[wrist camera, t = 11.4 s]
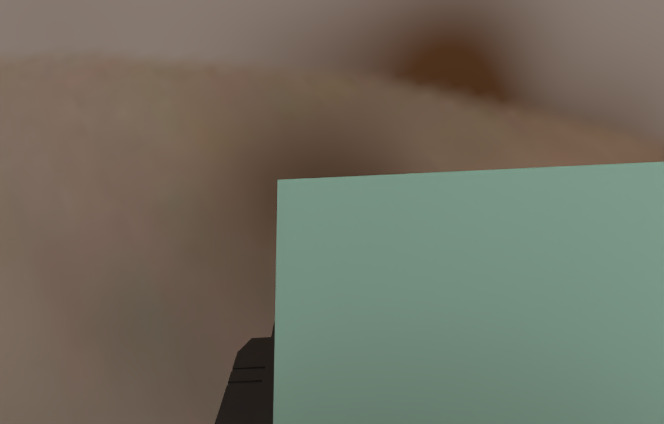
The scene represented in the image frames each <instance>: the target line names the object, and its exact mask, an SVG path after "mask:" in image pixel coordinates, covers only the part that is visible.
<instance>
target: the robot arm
mask: <svg viewBox="0 0 664 424" xmlns="http://www.w3.org/2000/svg"><path fill="white" fill-rule="evenodd" d="M274 348H275V322H274V326H273V331H272V336H271V337H267V338H252V339H251V340H250V341H249V342H248V343H247V344H246V345H245V346H244V347H242V348H241V349H240V350H239V351H238V353H237V356H236V359H235V362H234V365H233V371H232V372H231V375H230V378H229V381H228V385H227V387H226V390H225V393H224V397H223V400H222V403H221V406H220V409H219V412H218V415H217V418H216V421H215V424H273V402H274Z"/></svg>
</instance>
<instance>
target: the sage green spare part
mask: <svg viewBox="0 0 664 424" xmlns="http://www.w3.org/2000/svg"><path fill="white" fill-rule="evenodd" d="M273 424H664V162H647V163H626V164H605V165H583V166H562V167H541V168H519V169H498V170H476V171H455V172H434V173H412V174H391V175H369V176H348V177H327V178H305V179H284V180H278V186H277V240H276V294H275V348H274V402H273Z"/></svg>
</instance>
